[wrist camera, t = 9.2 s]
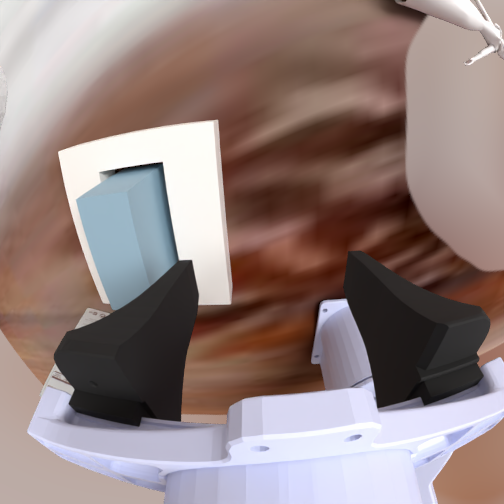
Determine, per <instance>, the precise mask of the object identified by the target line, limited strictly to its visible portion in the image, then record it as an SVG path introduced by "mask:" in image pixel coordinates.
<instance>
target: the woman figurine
mask: <svg viewBox="0 0 504 504" xmlns="http://www.w3.org/2000/svg"><path fill="white" fill-rule="evenodd" d="M395 1H396V3H398V4H401V5H404V6H407V7H410V8H412V9H415V10H418V11H420V12H423V13H426V14H428V15H431V16H433V17H436V18H439V19H442V20H444V21H447V22H450V23H453V24H455V25H457V26H460V27H462V28H465V29H468V30H478V31H480V32H481V34H482V35H483V37H484V39H485V40H486V42H487V44H488V46H487V47H486V48H484V49H482V50H481V51H480V52H479V53H478V54H477V55H475V56H474V57H473V58H470V59H469V60H468V61H467V62H464V63H465V66H466V65H470V64H472V63H473V62H475V61H477V60H478V59H480V58H482V57H485V56H487V55H488V54H490V53H492V52H494V53H495V52H496V51H497V52H498V55H499V56H500V57H501V58H502V59H504V40H503V39H502V30H501V29H500V27H499V25H497V24H496V23H495V24H496V26H497V27H496V26H495V25H493V23H492V21H491V20H490V18H489V16H488V15H487V13H486V11H485V9H484V7H483V5H482V4H481V2H480V0H475V2H476V4H477V6H478V8H479V10H480V11H481V14H482V16H483V17H484V19H485V20H484V19H483V17H482V16H481V14H480V13H479V11H478V10H477V9H476V7H475V6H474V5H473V4H472V3H471V2H470V1H469V0H407V1H406V2H402V1H400V0H395ZM499 29H500V30H499Z"/></svg>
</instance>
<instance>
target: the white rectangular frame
mask: <svg viewBox="0 0 504 504" xmlns="http://www.w3.org/2000/svg"><path fill="white" fill-rule="evenodd" d="M58 153H59V159H60V164H61V170H62V175H63V179H64V184H65V189H66V193H67V197H68V201H69V205H70V209H71V213H72V216H73V220H74V223H75V227H76V230H77V234H78V237H79V240H80V243H81V246H82V249H83V252H84V255H85V258H86V261H87V264H88V266H89V269H90V272H91V275H92V277H93V280H94V282H95V285H96V287H97V290H98V292H99V295H100V297H101V300H102V302H103V303H104V304H110V302H109V300H108V298H107V295H106V293H105V290H104V287H103V285H102V282H101V280H100V277H99V274H98V271H97V269H96V266H95V263H94V260H93V257H92V254H91V251H90V248H89V245H88V242H87V238H86V235H85V232H84V228H83V225H82V221H81V218H80V214H79V210H78V206H77V202H76V199H77V198H79V197H80V196H81V195H83V194H84V193H86V192H87V191H89V190H90V189H92V188H94V187H95V186H97V185H98V184H100V183H101V182H103V181H105V180H106V179H108V178H109V177H111V176H113V175H114V174H115V169H118V168H124V167H130V166H136V165H143V164H150V163H157V162H163V167H164V174H165V181H166V188H167V195H168V201H169V207H170V213H171V219H172V225H173V230H174V236H175V241H176V246H177V252H178V257H179V260H192V262H193V267H194V272H195V277H196V282H197V287H198V292H199V302H198V305H226V304H231V297H232V277H231V267H230V257H229V247H228V237H227V226H226V215H225V203H224V192H223V180H222V167H221V154H220V141H219V126H218V120H210V121H201V122H192V123H184V124H176V125H169V126H162V127H156V128H150V129H145V130H139V131H134V132H129V133H124V134H120V135H115V136H111V137H106V138H102V139H98V140H94V141H90V142H87V143H83V144H79V145H76V146H73V147H70V148H67V149H64V150H62V151H59V152H58Z"/></svg>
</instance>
